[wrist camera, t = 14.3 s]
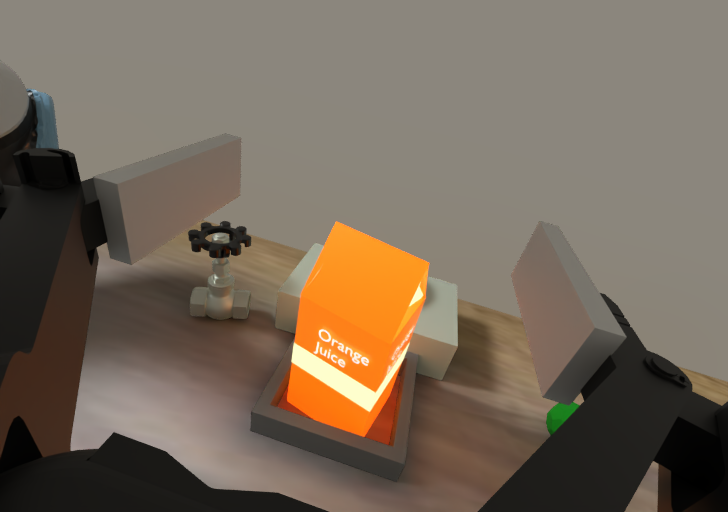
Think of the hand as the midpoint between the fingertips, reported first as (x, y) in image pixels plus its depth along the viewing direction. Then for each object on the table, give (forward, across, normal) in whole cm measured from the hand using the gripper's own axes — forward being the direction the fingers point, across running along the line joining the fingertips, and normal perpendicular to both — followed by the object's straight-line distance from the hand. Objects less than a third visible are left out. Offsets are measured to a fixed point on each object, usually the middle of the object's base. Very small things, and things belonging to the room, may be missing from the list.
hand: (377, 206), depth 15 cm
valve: (+16, -18, -28) cm, 37 cm away
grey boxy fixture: (+17, 0, -27) cm, 32 cm away
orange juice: (+10, 0, -28) cm, 29 cm away
